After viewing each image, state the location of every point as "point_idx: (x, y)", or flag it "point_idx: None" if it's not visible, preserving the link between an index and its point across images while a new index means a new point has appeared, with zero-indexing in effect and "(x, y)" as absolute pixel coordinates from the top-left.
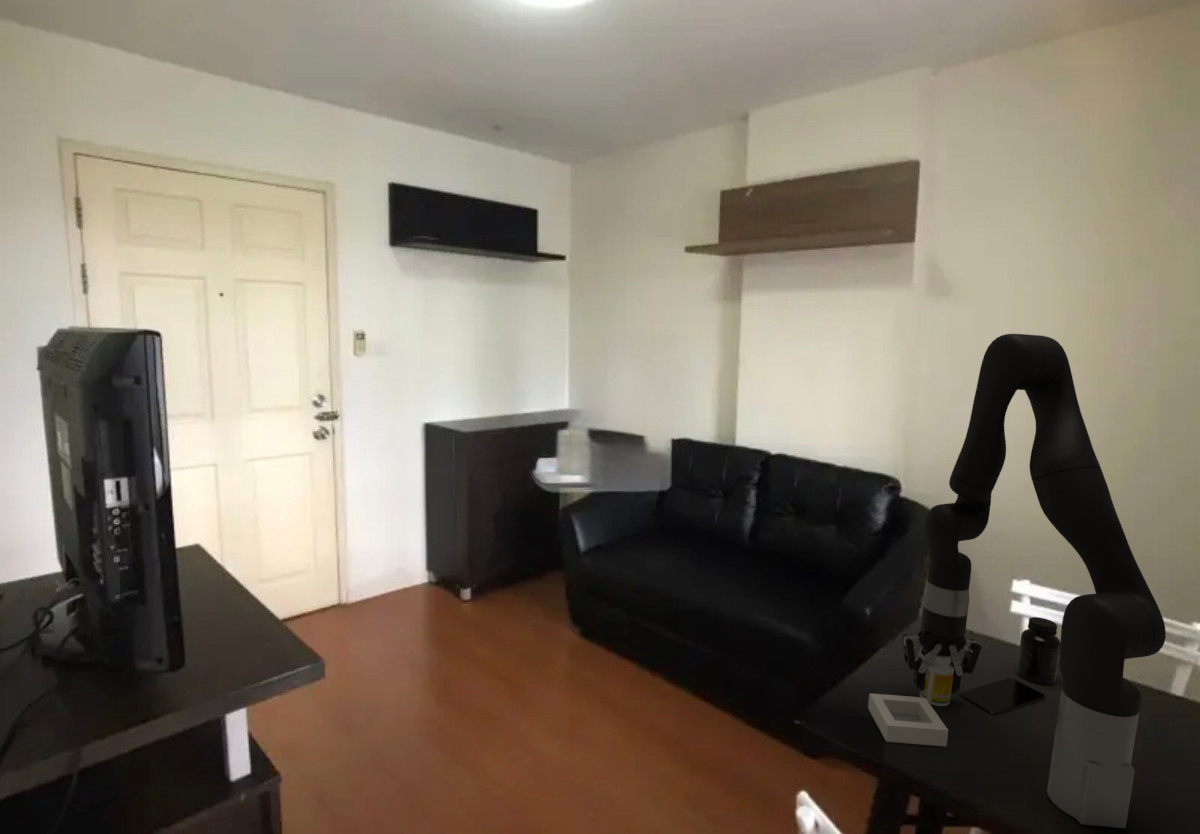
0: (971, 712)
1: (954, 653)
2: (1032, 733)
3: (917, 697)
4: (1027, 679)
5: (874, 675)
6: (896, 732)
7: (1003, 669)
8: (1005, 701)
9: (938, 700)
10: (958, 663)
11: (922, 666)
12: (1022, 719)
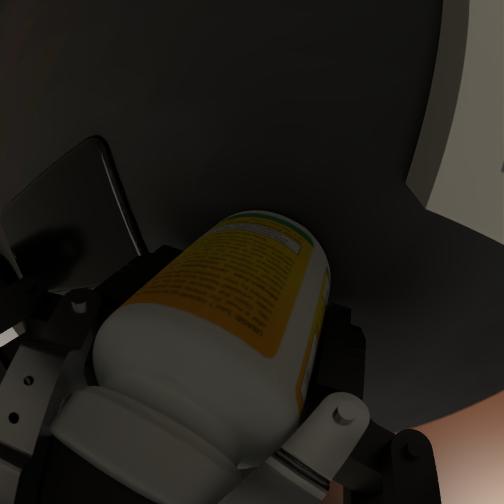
0: (161, 155)
1: (2, 438)
2: (62, 47)
3: (472, 221)
4: (15, 278)
5: (378, 419)
6: None
7: None
8: (49, 204)
9: (283, 226)
10: (33, 350)
11: (339, 442)
12: (49, 119)
